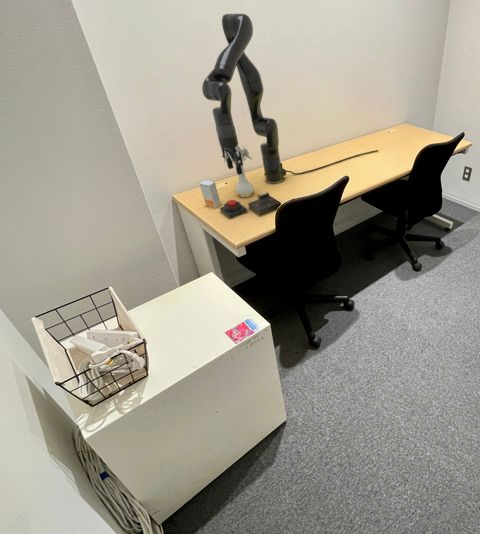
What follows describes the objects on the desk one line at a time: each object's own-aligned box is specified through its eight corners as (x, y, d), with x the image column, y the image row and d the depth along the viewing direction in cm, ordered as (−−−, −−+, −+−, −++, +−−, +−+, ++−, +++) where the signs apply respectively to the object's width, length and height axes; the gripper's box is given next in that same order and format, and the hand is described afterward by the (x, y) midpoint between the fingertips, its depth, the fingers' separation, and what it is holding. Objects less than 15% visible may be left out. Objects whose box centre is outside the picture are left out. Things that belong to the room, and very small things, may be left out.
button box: (237, 205, 161) (236, 198, 159) (247, 212, 157) (245, 204, 154) (220, 211, 157) (218, 204, 154) (230, 218, 152) (227, 211, 149)
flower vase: (246, 185, 179) (236, 138, 164) (265, 196, 169) (256, 147, 154) (224, 192, 172) (211, 144, 156) (242, 204, 162) (231, 154, 146)
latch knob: (268, 200, 160) (266, 191, 157) (270, 201, 159) (268, 192, 156) (258, 203, 157) (256, 194, 154) (260, 205, 156) (258, 196, 153)
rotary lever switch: (270, 200, 166) (269, 195, 164) (281, 207, 160) (280, 202, 158) (249, 208, 159) (248, 202, 157) (260, 216, 154) (259, 210, 152)
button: (234, 202, 157) (233, 198, 156) (238, 205, 154) (238, 202, 153) (225, 205, 154) (224, 201, 153) (230, 208, 152) (229, 205, 151)
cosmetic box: (205, 206, 161) (198, 183, 153) (211, 202, 164) (204, 179, 156) (215, 208, 159) (209, 185, 152) (221, 204, 162) (215, 181, 155)
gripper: (243, 136, 136) (250, 173, 146) (227, 128, 144) (235, 164, 154) (226, 140, 132) (235, 178, 142) (211, 132, 140) (220, 168, 150)
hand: (235, 171), depth 148 cm, fingers open, 8 cm apart
